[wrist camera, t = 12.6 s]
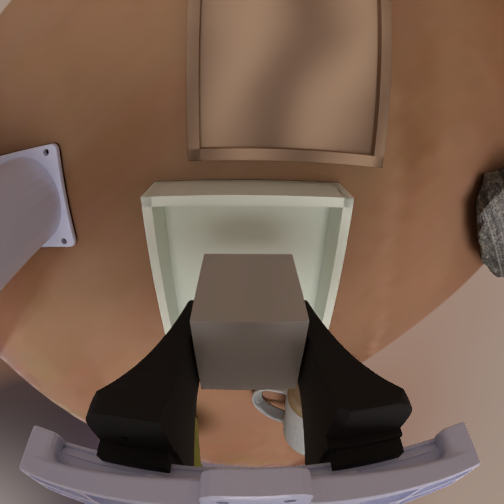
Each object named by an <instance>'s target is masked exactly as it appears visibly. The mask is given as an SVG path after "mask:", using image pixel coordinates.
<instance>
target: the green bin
mask: <svg viewBox="0 0 504 504" xmlns="http://www.w3.org/2000/svg"><path fill="white" fill-rule="evenodd" d="M353 202H354V198H353V197H352V196H351V195H350V193H349V192H348V191H347V190H346V189H345V188H344V187H343V186H342V185H341V184H340V183H335V182H316V181H290V180H182V181H156V182H154V183H153V184H152V185H151V186H150V187H149V188H148V189H147V191H146V192H145V193H144V194H143V195H142V196H141V204H142V212H143V219H144V226H145V233H146V239H147V245H148V252H149V257H150V263H151V269H152V274H153V279H154V285H155V290H156V295H157V299H158V304H159V309H160V313H161V318H162V322H163V327H164V331H165V335H166V334H167V332H168V331H169V330H170V328H171V327H172V326H173V324H174V323H175V321H176V320H177V319H178V317H179V316H180V314H181V313H182V311H183V309H184V308H185V306H186V304H187V303H188V301H190V300H194V298H195V293H196V288H197V284H198V279H199V275H200V270H201V266H202V261H203V257H204V254H292V255H293V259H294V263H295V267H296V270H297V274H298V278H299V282H300V286H301V290H302V293H303V297H304V300H307V301H308V302H309V304H310V306H311V307H312V309H313V310H314V311H315V313H316V314H317V316H318V317H319V319H320V320H321V321H322V323H323V324H324V325H325V326H326V328H327V329H328V330H329V325H330V321H331V317H332V313H333V308H334V304H335V300H336V295H337V290H338V286H339V281H340V276H341V271H342V266H343V261H344V256H345V250H346V245H347V239H348V234H349V228H350V222H351V215H352V209H353Z"/></svg>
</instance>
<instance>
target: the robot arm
mask: <svg viewBox="0 0 504 504" xmlns="http://www.w3.org/2000/svg"><path fill="white" fill-rule="evenodd" d="M47 149H48V151H49V154H47V152H46V150H47ZM64 239H66V241H67V242H66V241H65V240H64ZM75 243H76V237H75V232H74V228H73V224H72V220H71V215H70V210H69V206H68V201H67V196H66V190H65V185H64V179H63V173H62V166H61V159H60V152H59V147H58V145H57V144H55V143H52V144H48V145H43V146H38V147H34V148H30V149H25V150H21V151H17V152H13V153H10V154H6V155H2V156H0V291H1V290H2V289H3V288H4V287H5V285H6V284H7V283H8V282H9V281H10V280H11V279H12V277H13V276H14V275H15V274H16V273H17V272H18V271H19V270H20V269H21V268H22V267H23V265H24V264H25V263H26V262H27V261H28V260H29V259H30V258H31V257H32V256H33V255H34V254H35V253H36V252H37V251H38V250H39V249H40V248H41V247H72V246H74V244H75ZM304 301H305V305H306V309H307V313H308V317H309V326H308V331H307V336H306V342H305V347H304V352H303V357H302V362H301V366H300V371H299V376H298V380H297V382H298V386H299V391H300V397H301V407H302V418H303V430H304V447H305V465H303V466H291V467H271V468H211V467H197V466H194V440H195V417H196V402H197V393H198V387H199V382H200V379H199V374H198V368H197V363H196V357H195V351H194V345H193V339H192V333H191V326H190V317H191V312H192V307H193V302H194V300H190V301H188V303H187V304H186V306H185V308H184V309H183V311H182V313H181V314H180V316H179V317H178V319H177V320H176V321H175V323H174V324H173V326H172V327H171V328H170V330H169V331H168V332H167V334H166V335H165V336H164V337H163V338H162V340H161V341H160V342H159V343H158V344H157V346H156V347H155V348H154V349H153V350H152V351H151V352H150V353H149V354H148V355H147V356H146V357H145V358H144V359H143V360H141V361H140V362H139V363H138V364H137V365H136V366H135V367H133V368H132V369H131V370H130V371H128V372H127V373H126V374H124V375H123V376H121V377H120V378H119V379H117V380H116V381H114V382H112V383H111V384H109V385H107V386H105V387H104V388H102V389H100V390H98V391H96V393H95V396H94V397H93V399H92V402H91V404H90V407H89V410H88V413H87V416H86V422H87V424H88V425H89V427H90V428H91V430H92V431H93V432H94V433H95V434H96V435H97V437H98V438H99V439H100V443H99V447H98V450H92V449H89V448H85V447H81V446H78V445H74V444H71V443H68V442H65V441H64V440H63V438H62V437H61V436H59V435H58V434H56V433H55V432H53V431H50V430H47V429H44V428H41V427H38V426H34V427H33V430H32V432H31V435H30V438H29V440H28V443H27V446H26V449H25V452H24V454H23V457H22V460H21V463H20V466H19V469H20V470H21V471H22V472H24V473H25V474H27V475H28V476H29V477H31V478H32V479H34V480H35V481H37V482H38V483H40V484H41V485H43V486H44V487H46V488H48V489H50V490H52V491H55V492H57V493H60V494H62V495H65V496H67V497H70V498H72V499H75V500H78V501H81V502H83V503H86V504H404V503H406V502H409V501H412V500H414V499H417V498H419V497H422V496H425V495H427V494H429V493H432V492H434V491H437V490H439V489H441V488H444V487H446V486H449V485H451V484H452V483H454V482H455V481H457V480H458V479H460V478H462V477H463V476H465V475H466V474H467V473H469V472H470V471H472V470H473V469H474V468H476V467H477V466H478V465H479V464H480V461H479V459H478V456H477V453H476V450H475V448H474V445H473V443H472V440H471V438H470V435H469V433H468V431H467V428H466V426H465V424H464V423H463V422H462V423H459V424H456V425H453V426H451V427H448V428H445V429H443V430H442V431H440V432H439V433H438V434H437V435H436V436H435V438H434V439H430V440H427V441H424V442H421V443H418V444H414V445H410V446H407V447H403V446H402V443H401V439H400V437H401V436H402V432H401V429H400V427H401V426H402V425H403V424H404V423H405V421H406V420H407V419H408V417H409V416H410V414H411V412H412V407H411V404H410V401H409V399H408V397H407V395H406V393H405V391H404V389H402V388H400V387H399V386H396V385H394V384H393V383H391V382H389V381H387V380H385V379H384V378H382V377H380V376H378V375H377V374H375V373H374V372H373V371H371V370H370V369H369V368H367V367H366V366H365V365H363V364H362V363H361V362H359V361H358V360H357V359H356V358H354V357H353V356H352V355H351V354H350V353H349V352H348V351H347V350H346V349H345V348H344V347H343V346H342V345H341V344H340V343H339V342H338V341H337V340H336V338H335V337H334V336H333V335H332V334H331V333H330V331H329V330H328V329H327V328H326V326H325V325H324V324H323V323H322V321H321V320H320V319H319V317H318V316H317V314H316V313H315V311H314V310H313V309H312V307H311V306H310V304H309V302H308V301H307V300H304Z"/></svg>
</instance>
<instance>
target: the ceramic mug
mask: <svg viewBox="0 0 504 504" xmlns="http://www.w3.org/2000/svg"><path fill="white" fill-rule="evenodd" d="M263 391H272V392H278V393H282V394H285V395H286V399H285V410H282V409H280V408H277V407H275V406H273V405H271V404H270V403H268V402H267V401H266V400H264V399H263V397H262V392H263ZM252 402H253V404H254V406H255V407H256V408H257V409H258V410H259V411H260V412H261V413H263V414H264V415H266V416H268V417H270V418H272V419H274V420H276V421H279V422H282V423H283V424H284V427H283V431H284V436H285V439H286V441H287V442H288V444H289V445H290V446H291V448H293V449H294V450H295V451H297V452H298V453H300V454H302V455H305V447H304V430H303V418H302V407H301V397H300V391H299V386H298V382H297V385H296V388H293V389H266V390H254V392H253V395H252Z"/></svg>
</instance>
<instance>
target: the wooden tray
mask: <svg viewBox="0 0 504 504" xmlns="http://www.w3.org/2000/svg"><path fill="white" fill-rule="evenodd" d="M391 64H392V14H391V0H188V11H187V46H186V104H187V142H188V161H202V160H272V161H300V162H319V163H334V164H347V165H359V166H370V167H379V168H383V160H384V152H385V144H386V135H387V126H388V115H389V102H390V87H391Z"/></svg>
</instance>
